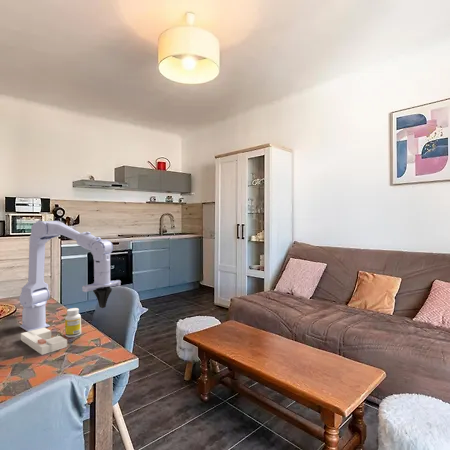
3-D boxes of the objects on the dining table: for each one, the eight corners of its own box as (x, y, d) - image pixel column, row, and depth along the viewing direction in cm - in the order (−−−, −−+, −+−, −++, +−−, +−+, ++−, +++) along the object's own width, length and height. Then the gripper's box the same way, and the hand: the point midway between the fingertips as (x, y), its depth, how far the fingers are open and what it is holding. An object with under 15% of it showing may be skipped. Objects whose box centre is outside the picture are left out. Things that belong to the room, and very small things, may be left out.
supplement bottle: (68, 332, 121) (68, 307, 121) (83, 332, 122) (83, 307, 121) (62, 337, 116) (62, 311, 115) (77, 337, 116) (77, 311, 116)
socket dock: (20, 340, 113) (20, 331, 113) (44, 333, 120) (44, 325, 119) (41, 354, 101) (41, 344, 101) (67, 346, 108) (67, 337, 107)
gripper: (89, 275, 111) (89, 313, 111) (125, 270, 122) (125, 304, 122) (79, 273, 115) (79, 310, 115) (115, 268, 126) (115, 301, 127)
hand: (102, 307), depth 119 cm, fingers closed
